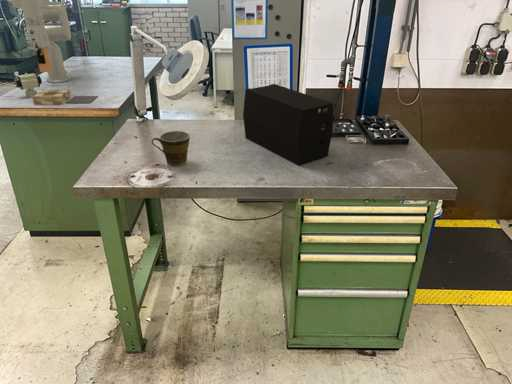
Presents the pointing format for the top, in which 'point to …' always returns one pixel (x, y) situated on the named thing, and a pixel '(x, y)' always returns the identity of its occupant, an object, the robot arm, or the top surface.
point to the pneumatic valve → (28, 83)
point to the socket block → (51, 97)
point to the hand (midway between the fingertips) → (44, 62)
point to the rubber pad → (82, 99)
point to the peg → (47, 65)
